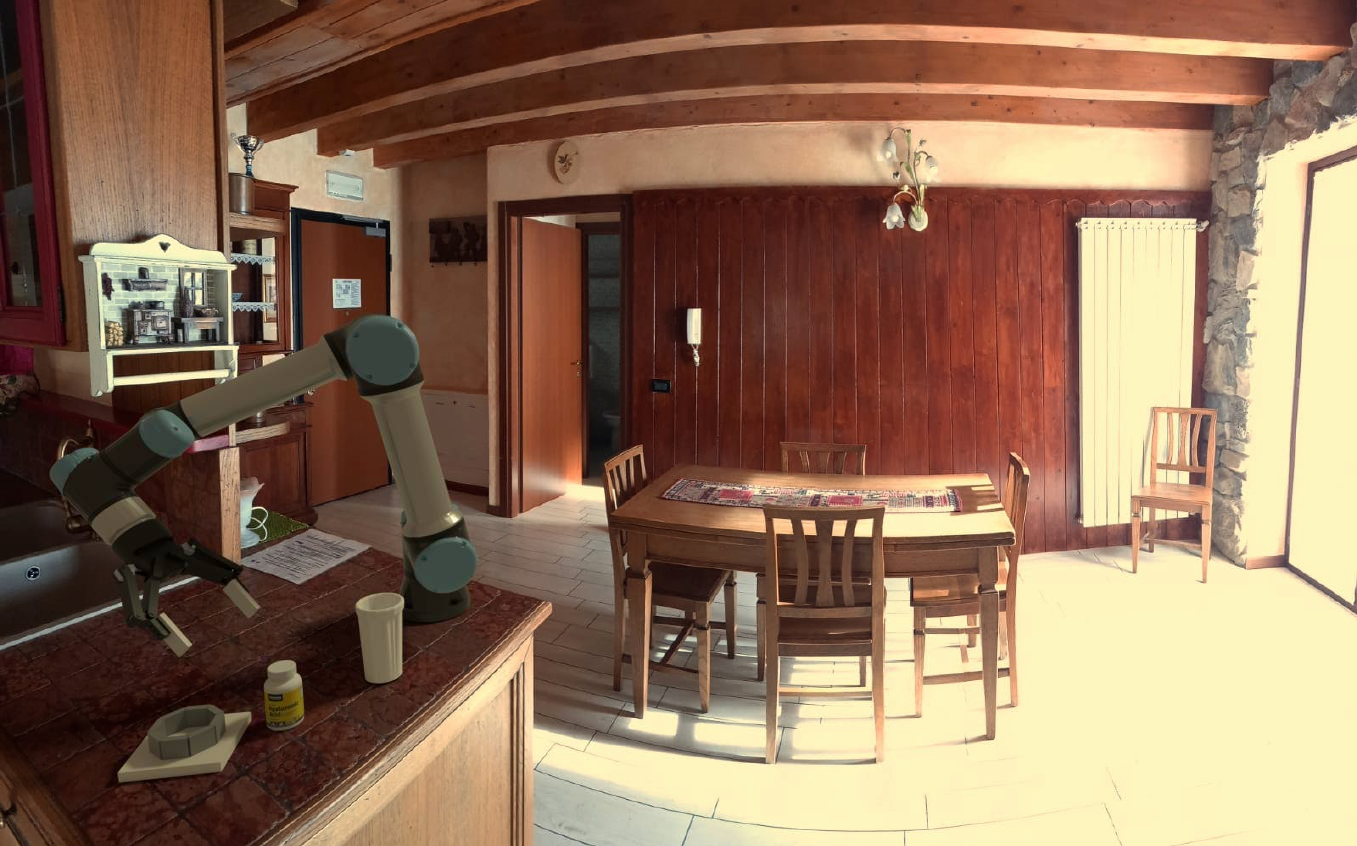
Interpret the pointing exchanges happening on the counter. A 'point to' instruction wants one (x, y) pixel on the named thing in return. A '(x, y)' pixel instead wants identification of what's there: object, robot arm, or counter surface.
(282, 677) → the supplement bottle
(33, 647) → the counter surface
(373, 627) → the cup
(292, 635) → the counter surface
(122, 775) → the holder
